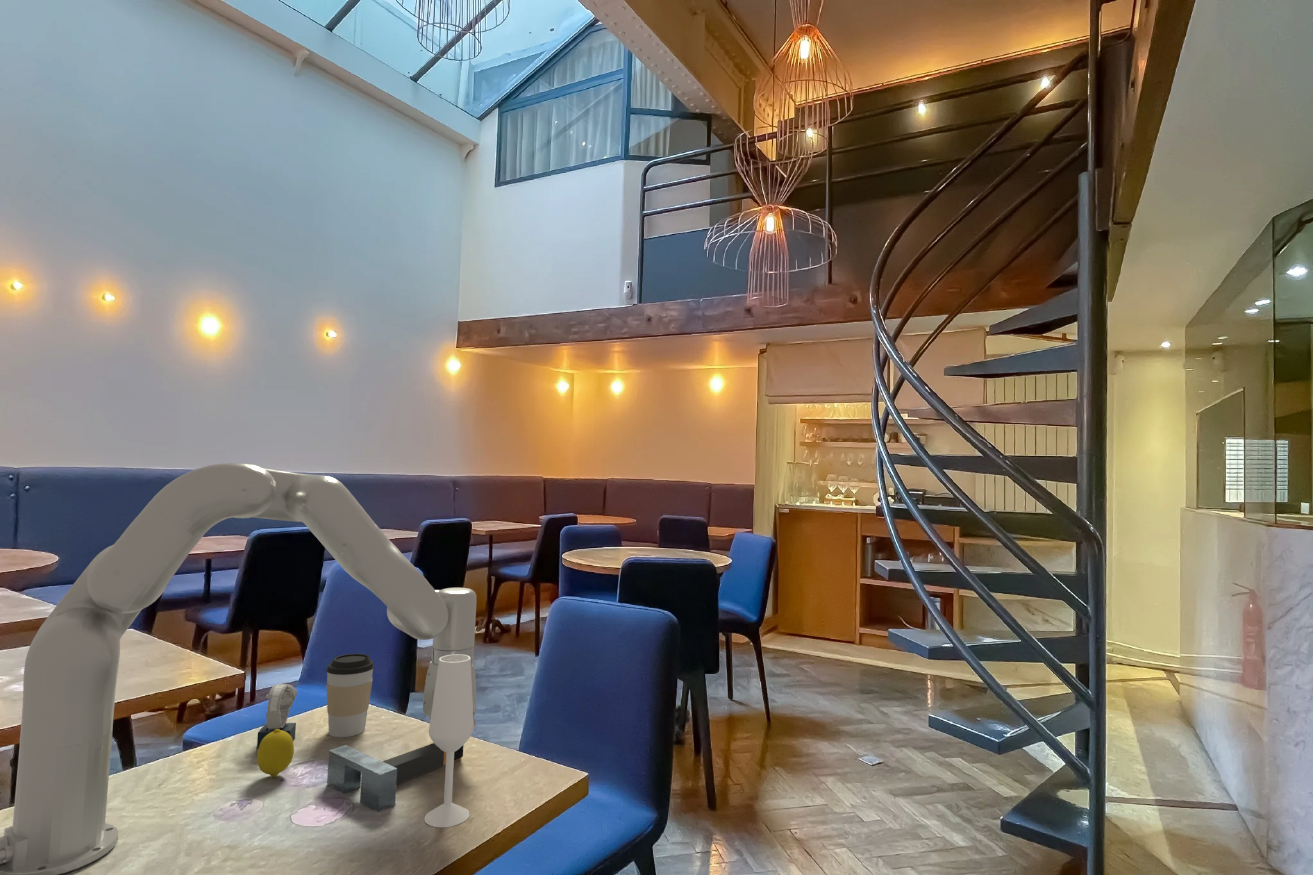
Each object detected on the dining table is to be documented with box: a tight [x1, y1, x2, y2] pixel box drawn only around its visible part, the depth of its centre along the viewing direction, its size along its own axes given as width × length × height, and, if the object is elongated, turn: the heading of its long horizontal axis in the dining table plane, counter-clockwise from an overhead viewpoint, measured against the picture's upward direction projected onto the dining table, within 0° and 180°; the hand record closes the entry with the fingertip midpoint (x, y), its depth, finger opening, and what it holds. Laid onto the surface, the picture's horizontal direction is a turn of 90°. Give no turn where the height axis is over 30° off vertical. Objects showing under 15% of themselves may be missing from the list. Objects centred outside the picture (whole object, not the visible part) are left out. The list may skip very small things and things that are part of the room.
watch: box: [256, 683, 298, 750], centre depth 129 cm, size 6×8×11 cm
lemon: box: [256, 729, 295, 778], centre depth 115 cm, size 6×6×8 cm
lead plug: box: [381, 742, 462, 785], centre depth 119 cm, size 16×3×3 cm, turn 145°
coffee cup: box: [325, 653, 375, 738], centre depth 137 cm, size 9×9×15 cm
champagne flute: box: [424, 654, 475, 828], centre depth 104 cm, size 7×7×24 cm
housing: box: [326, 744, 397, 813], centre depth 110 cm, size 3×15×6 cm, turn 55°
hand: (448, 755), depth 124 cm, fingers closed on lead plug, 3 cm apart
